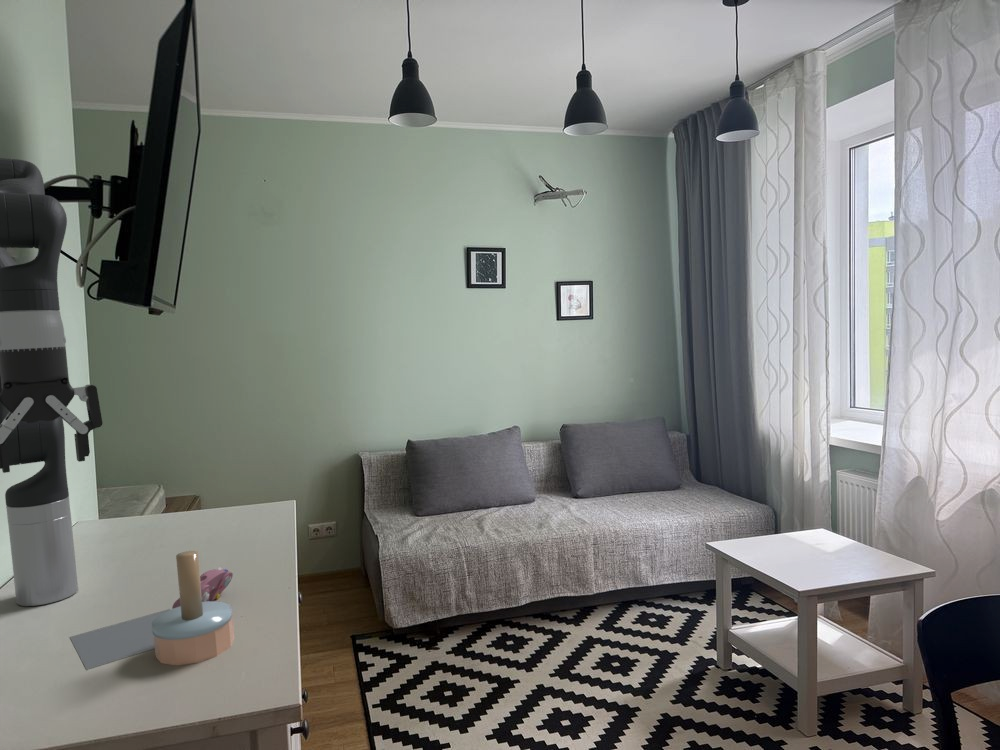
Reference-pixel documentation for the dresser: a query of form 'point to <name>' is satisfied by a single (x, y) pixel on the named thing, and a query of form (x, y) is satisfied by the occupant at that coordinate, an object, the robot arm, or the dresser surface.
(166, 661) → the bowl
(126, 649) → the mat
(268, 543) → the dresser surface
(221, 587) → the video game controller
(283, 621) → the dresser surface
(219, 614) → the lid
